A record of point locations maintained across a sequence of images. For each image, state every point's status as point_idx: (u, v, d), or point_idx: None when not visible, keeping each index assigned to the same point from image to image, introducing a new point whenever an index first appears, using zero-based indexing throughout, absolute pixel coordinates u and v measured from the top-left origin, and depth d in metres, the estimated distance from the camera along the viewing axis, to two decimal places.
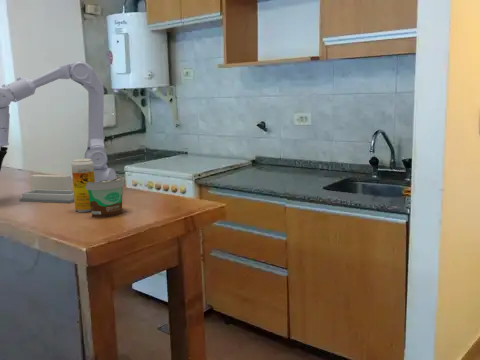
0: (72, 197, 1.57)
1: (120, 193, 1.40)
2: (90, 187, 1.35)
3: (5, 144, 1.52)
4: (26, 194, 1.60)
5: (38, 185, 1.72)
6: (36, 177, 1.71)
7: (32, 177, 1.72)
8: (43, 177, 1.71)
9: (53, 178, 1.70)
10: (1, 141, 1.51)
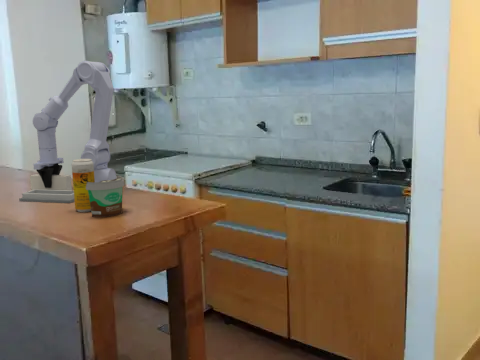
0: (72, 197, 1.57)
1: (120, 193, 1.40)
2: (90, 187, 1.35)
3: (49, 163, 1.68)
4: (26, 194, 1.60)
5: (38, 185, 1.72)
6: (36, 177, 1.71)
7: (32, 177, 1.72)
8: None
9: (53, 178, 1.70)
10: (46, 160, 1.68)
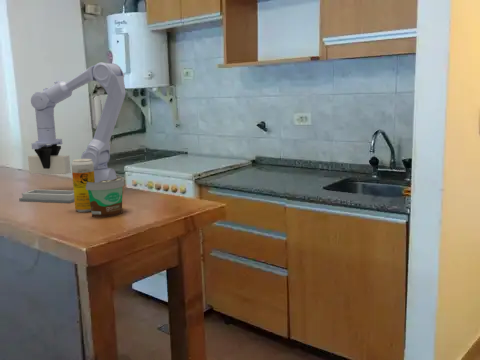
0: (72, 197, 1.57)
1: (120, 193, 1.40)
2: (90, 187, 1.35)
3: (47, 143, 1.65)
4: (26, 194, 1.60)
5: (37, 166, 1.69)
6: (34, 157, 1.69)
7: (30, 157, 1.69)
8: None
9: (51, 158, 1.67)
10: (45, 140, 1.65)
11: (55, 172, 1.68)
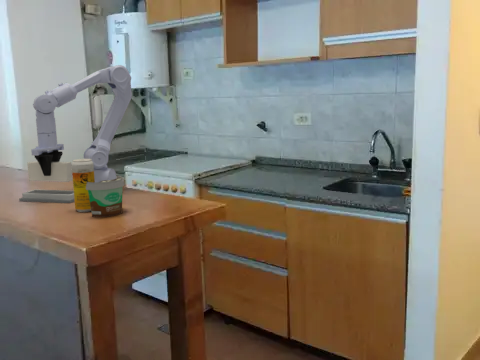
0: (72, 197, 1.57)
1: (120, 193, 1.40)
2: (90, 187, 1.35)
3: (48, 148, 1.55)
4: (26, 194, 1.60)
5: (37, 173, 1.59)
6: (34, 164, 1.59)
7: (30, 164, 1.59)
8: None
9: (52, 165, 1.58)
10: (45, 146, 1.56)
11: (56, 180, 1.58)
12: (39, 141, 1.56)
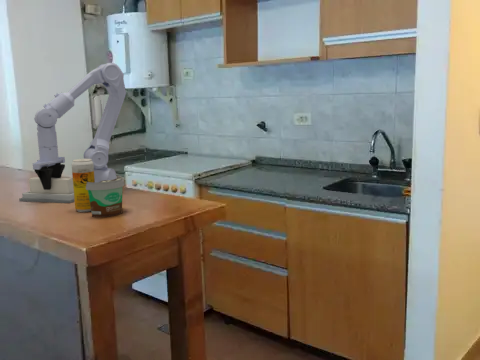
0: (72, 197, 1.57)
1: (120, 193, 1.40)
2: (90, 187, 1.35)
3: (50, 162, 1.56)
4: (26, 194, 1.60)
5: (38, 189, 1.60)
6: (36, 180, 1.60)
7: (31, 180, 1.60)
8: None
9: (54, 181, 1.59)
10: (47, 159, 1.56)
11: None
12: (40, 155, 1.57)
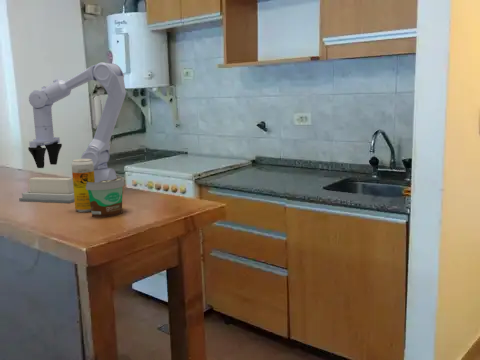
0: (72, 197, 1.57)
1: (120, 193, 1.40)
2: (90, 187, 1.35)
3: (45, 141, 1.64)
4: (26, 194, 1.60)
5: (38, 189, 1.60)
6: (36, 180, 1.60)
7: (31, 180, 1.60)
8: (43, 180, 1.59)
9: (54, 181, 1.59)
10: (42, 139, 1.65)
11: None
12: (36, 134, 1.65)
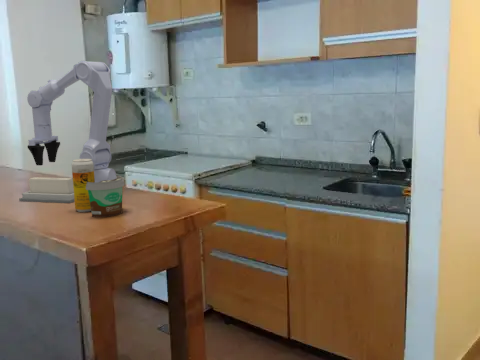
0: (72, 197, 1.57)
1: (120, 193, 1.40)
2: (90, 187, 1.35)
3: (44, 139, 1.71)
4: (26, 194, 1.60)
5: (38, 189, 1.60)
6: (36, 180, 1.60)
7: (31, 180, 1.60)
8: (43, 180, 1.59)
9: (54, 181, 1.59)
10: (41, 137, 1.71)
11: None
12: (35, 133, 1.71)
